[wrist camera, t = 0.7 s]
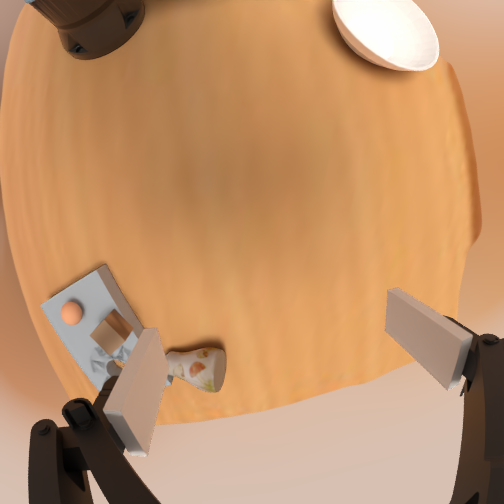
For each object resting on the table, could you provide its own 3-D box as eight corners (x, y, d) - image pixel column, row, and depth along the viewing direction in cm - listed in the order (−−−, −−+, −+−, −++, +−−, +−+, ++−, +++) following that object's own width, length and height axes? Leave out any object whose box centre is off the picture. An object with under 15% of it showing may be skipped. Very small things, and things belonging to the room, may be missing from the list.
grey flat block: (50, 298, 38) (40, 305, 35) (105, 263, 38) (96, 269, 35) (115, 392, 43) (109, 403, 40) (174, 372, 43) (171, 384, 39)
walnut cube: (99, 323, 36) (89, 335, 33) (114, 308, 36) (104, 319, 32) (118, 342, 37) (109, 355, 33) (133, 328, 37) (125, 341, 33)
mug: (158, 338, 42) (177, 358, 33) (212, 336, 47) (242, 352, 39) (159, 380, 41) (179, 407, 33) (212, 375, 47) (240, 397, 38)
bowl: (428, 63, 36) (454, 50, 28) (373, 104, 37) (401, 90, 29) (361, -9, 32) (379, -31, 23) (292, 19, 33) (305, -9, 25)
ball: (63, 303, 35) (52, 311, 32) (77, 294, 35) (67, 303, 32) (75, 322, 36) (65, 332, 33) (89, 314, 36) (80, 324, 33)
